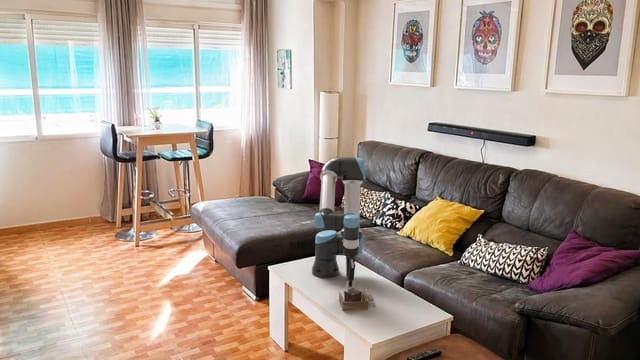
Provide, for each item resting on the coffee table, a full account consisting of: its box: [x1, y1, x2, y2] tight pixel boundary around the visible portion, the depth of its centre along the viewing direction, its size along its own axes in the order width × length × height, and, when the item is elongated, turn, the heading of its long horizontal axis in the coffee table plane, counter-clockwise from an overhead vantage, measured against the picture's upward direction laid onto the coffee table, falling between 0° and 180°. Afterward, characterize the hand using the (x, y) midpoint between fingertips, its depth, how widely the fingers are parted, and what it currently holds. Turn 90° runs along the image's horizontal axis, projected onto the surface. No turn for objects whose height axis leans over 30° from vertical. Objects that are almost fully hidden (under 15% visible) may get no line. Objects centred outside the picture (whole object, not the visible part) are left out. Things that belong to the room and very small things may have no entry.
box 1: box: [343, 287, 363, 302], centre depth 244 cm, size 6×6×7 cm
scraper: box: [363, 287, 376, 308], centre depth 252 cm, size 17×2×2 cm, turn 7°
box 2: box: [338, 291, 369, 312], centre depth 246 cm, size 12×12×4 cm
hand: (349, 291), depth 256 cm, fingers closed
